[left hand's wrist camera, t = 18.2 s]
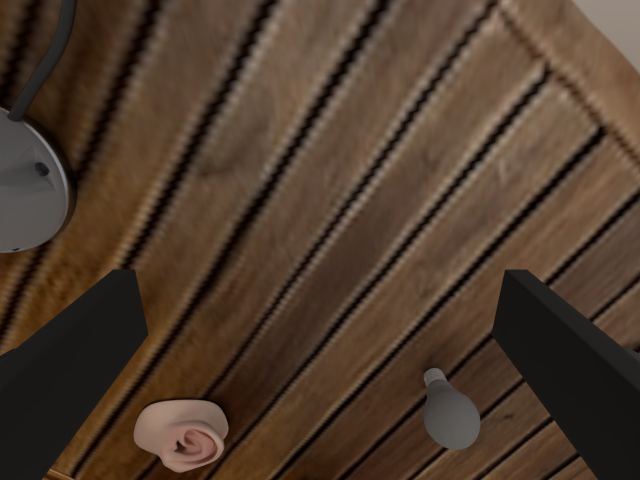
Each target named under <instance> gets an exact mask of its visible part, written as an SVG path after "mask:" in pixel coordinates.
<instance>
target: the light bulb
mask: <svg viewBox="0 0 640 480" xmlns="http://www.w3.org/2000/svg"><path fill="white" fill-rule="evenodd" d="M424 381H425V383H426V386H427V400H426V403H425V406H424V410H423V419H424V424H425V427H426V430H427V431H428V433H429V435H430V436H431V437H432V438H433V439H434V440H435V441H436V442H437V443H439V444H440V445H442V446H444V447H446V448H449V449H455V450H460V449H464V448H467V447H468V446H470V445H471V444H472V443H473V442H474V441H475V440H476V438H477V436H478V434H479V431H480V416H479V413H478V411H477V409H476V407H475V405H474V404H473V403H472V402H471V400H470V399H469V398H468V397H466V396H465V395H464V394H462V393H460V392H458V391H457V390H455V389H454V388H453V387H452V385H451V384H450V383H449V382H447V380H446V378H445V376H444V374H443V372H442V371H441V370H440V369H438V368H432V369H429V370H427V371H426V372H425V374H424Z"/></svg>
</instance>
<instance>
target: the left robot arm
mask: <svg viewBox="0 0 640 480" xmlns="http://www.w3.org/2000/svg"><path fill="white" fill-rule="evenodd" d="M75 5H76V0H62V6H61V13H60V19H59V24H58V28H57V31H56V35H55V37H54V40H53V42H52V44H51V46H50V48H49V50H48V52H47V54H46V55H45V57H44V59H43V60H42V61H41V63H40V64H39V66H38V67H37V69H36V70H35V71H34V73H33V74H32V76H31V77H30V79H29V81H28V82H27V84H26V86H25V87H24V89H23V90H22V92H21V94H20V95H19V97H18V99H17V100H16V102H15V104H14V105H13V107H9V106H7V105H4V104H1V103H0V253H9V252H17V251H23V250H27V249H31V248H34V247H37V246H39V245H41V244H43V243H45V242H47V241H48V240H50V239H52V238H54V237H55V236H57V235H58V234H59V233H61V232H62V231H63V230H64V228H65V227H66V226H67V224H68V223H69V221H70V219H71V217H72V215H73V212H74V208H75V202H76V189H75V182H74V177H73V174H72V171H71V168H70V166H69V163H68V161H67V159H66V157H65V156H64V154H63V152H62V151H61V149H60V148H59V146H58V145H57V143H56V142H55V141H54V140H53V139H52V137H51V136H50V135H49V134H48V133H47V132H46V131H45V130H44V129H43V128H42V127H41V126H40V125H38V124H37V123H36V122H35V121H33V120H32V119H31V118H29V117H28V116H26V115H25V112H26V110H27V109H28V107H29V105H30V104H31V102H32V100H33V99H34V97H35V95H36V94H37V92H38V91H39V89H40V87H41V86H42V84H43V83H44V81H45V80H46V78H47V77H48V76H49V74H50V73H51V71H52V70H53V68H54V67H55V65H56V64H57V62H58V61H59V59H60V57H61V55H62V53H63V51H64V49H65V47H66V44H67V42H68V39H69V36H70V32H71V28H72V23H73V17H74V11H75ZM148 335H149V334H148V329H147V325H146V320H145V315H144V311H143V306H142V301H141V296H140V292H139V287H138V282H137V278H136V273H135V270H112V271H111V272H110V273H108V274H107V275H106V276H105V277H104V278H102V279H101V280H100V281H99V282H97V283H96V284H95V285H94V286H92V287H91V288H90V289H89V290H88V291H86V292H85V293H84V294H83V295H81V296H80V297H79V298H78V299H77V300H75V301H74V302H73V303H72V304H70V305H69V306H68V307H67V308H65V309H64V310H63V311H62V312H61V313H59V314H58V315H57V316H56V317H54V318H53V319H52V320H51V321H49V322H48V323H47V324H46V325H45V326H43V327H42V328H41V329H40V330H38V331H37V332H36V333H35V334H34V335H32V336H31V337H30V338H29V339H27V340H26V341H25V342H24V343H22V344H21V345H20V346H19V347H18V348H16V349H12V350H10V351H8V352H6V353H4V354H3V355H1V356H0V480H42V479H43V477H44V476H45V475H46V473H47V472H48V471H49V469H50V468H51V467H52V465H53V464H54V462H55V461H56V460H57V458H58V457H59V456H60V454H61V453H62V452H63V450H64V449H65V448H66V446H67V445H68V443H69V442H70V441H71V439H72V438H73V437H74V435H75V434H76V433H77V431H78V430H79V428H80V427H81V426H82V424H83V423H84V422H85V420H86V419H87V418H88V416H89V415H90V413H91V412H92V411H93V409H94V408H95V407H96V405H97V404H98V403H99V401H100V400H101V399H102V397H103V396H104V394H105V393H106V392H107V390H108V389H109V388H110V386H111V385H112V384H113V382H114V381H115V379H116V378H117V377H118V375H119V374H120V373H121V371H122V370H123V369H124V367H125V366H126V365H127V363H128V362H129V360H130V359H131V358H132V356H133V355H134V354H135V352H136V351H137V350H138V348H139V347H140V345H141V344H142V343H143V341H144V340H145V339H146V337H147V336H148ZM491 335H492V336H493V337H494V339H495V340H496V341H497V343H498V344H499V345H500V347H501V348H502V350H503V351H504V352H505V354H506V355H507V356H508V358H509V359H510V360H511V362H512V363H513V365H514V366H515V367H516V369H517V370H518V371H519V373H520V374H521V375H522V377H523V378H524V379H525V381H526V382H527V384H528V385H529V386H530V388H531V389H532V390H533V392H534V393H535V394H536V396H537V397H538V399H539V400H540V401H541V403H542V404H543V405H544V407H545V408H546V409H547V411H548V412H549V413H550V415H551V416H552V418H553V419H554V420H555V422H556V423H557V424H558V426H559V427H560V428H561V430H562V431H563V433H564V434H565V435H566V437H567V438H568V439H569V441H570V442H571V443H572V445H573V446H574V448H575V449H576V450H577V452H578V453H579V454H580V456H581V457H582V458H583V460H584V461H585V462H586V464H587V465H588V467H589V468H590V469H591V471H592V472H593V473H594V475H595V476H596V477H597V479H598V480H640V354H638V353H636V352H635V351H633V350H631V349H629V348H622V347H621V346H620V345H619V344H618V343H616V342H615V341H614V340H613V339H611V338H610V337H609V336H608V335H606V334H605V333H604V332H603V331H602V330H600V329H599V328H598V327H597V326H595V325H594V324H593V323H592V322H591V321H589V320H588V319H587V318H586V317H584V316H583V315H582V314H581V313H579V312H578V311H577V310H576V309H575V308H573V307H572V306H571V305H570V304H568V303H567V302H566V301H565V300H563V299H562V298H561V297H560V296H559V295H557V294H556V293H555V292H554V291H552V290H551V289H550V288H549V287H548V286H546V285H545V284H544V283H543V282H541V281H540V280H539V279H538V278H536V277H535V276H534V275H533V274H532V273H530V272H529V271H528V270H505V273H504V278H503V282H502V287H501V292H500V296H499V301H498V306H497V311H496V315H495V320H494V325H493V329H492V334H491Z"/></svg>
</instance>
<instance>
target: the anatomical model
mask: <svg viewBox="0 0 640 480" xmlns="http://www.w3.org/2000/svg"><path fill="white" fill-rule="evenodd" d="M227 433H228V423H227V420H226V417H225V415H224V413H223V411H222V410H221V408H220V407H219V406H218V405H216V404H215V403H212V402H209V401H203V400H172V401H164V402H158V403H154V404H152V405H149V406H148V407H146V408H145V409H144V410H143V411H142V412H141V414H140V415H139V417H138V419H137V422H136V425H135V430H134V440H135V442H136V444H137V445H138V446H139V447H141V448H142V449H144V450H147V451H149V452H152V453H154V454H157V455H159V457H160V458H161V459H162V461H163V464H164V465H165V466H166V467H168V468H170V469H171V470H173V471H175V472H184V471H188V470H191V469H194V468H197V467H200V466H203V465H206V464H208V463H211V462H213V461H214V460H216V459H217V458H218V457H219V456H220V455H221V453H222V452H223V449H224V441H223V439H224V438H225V437H226V435H227Z"/></svg>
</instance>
